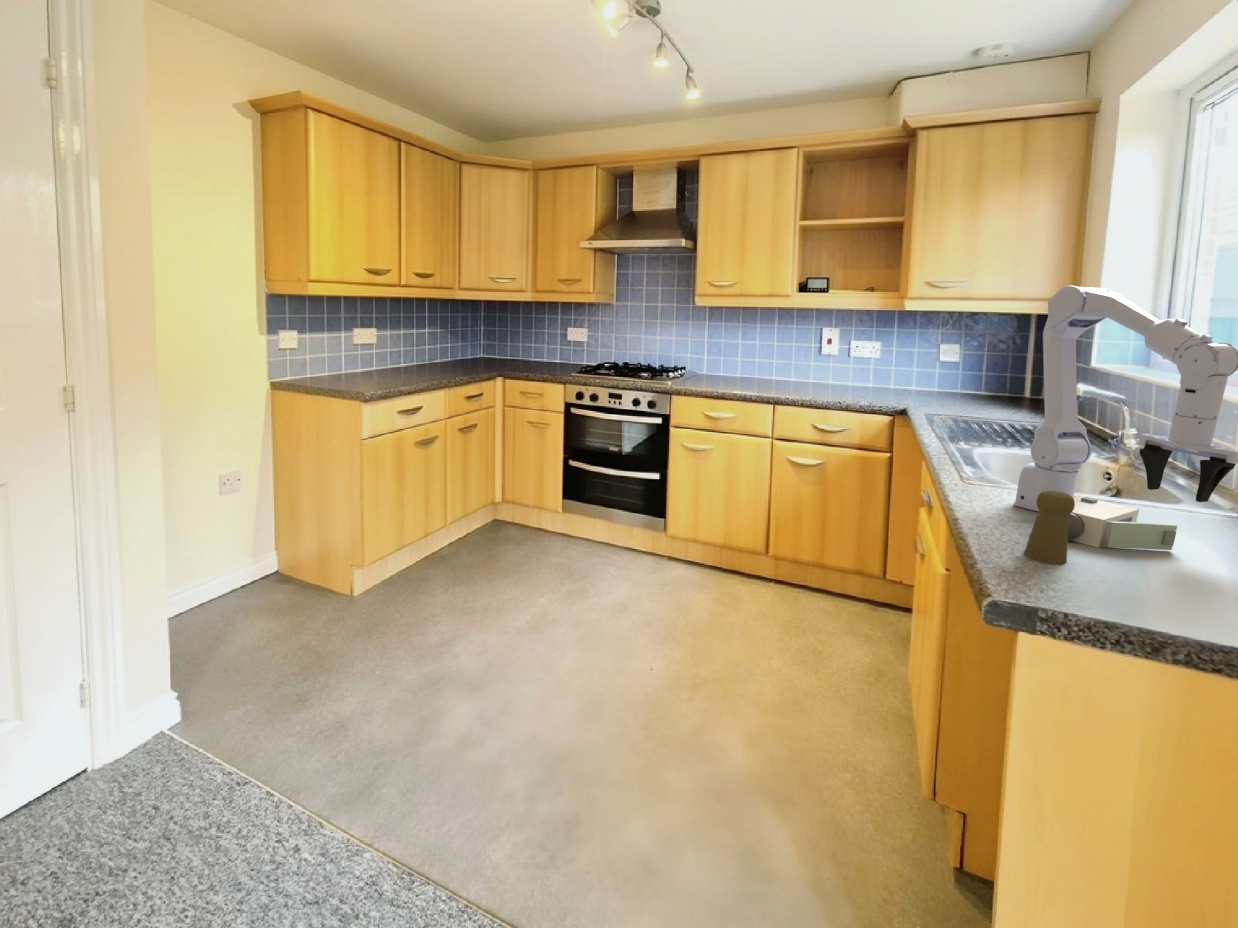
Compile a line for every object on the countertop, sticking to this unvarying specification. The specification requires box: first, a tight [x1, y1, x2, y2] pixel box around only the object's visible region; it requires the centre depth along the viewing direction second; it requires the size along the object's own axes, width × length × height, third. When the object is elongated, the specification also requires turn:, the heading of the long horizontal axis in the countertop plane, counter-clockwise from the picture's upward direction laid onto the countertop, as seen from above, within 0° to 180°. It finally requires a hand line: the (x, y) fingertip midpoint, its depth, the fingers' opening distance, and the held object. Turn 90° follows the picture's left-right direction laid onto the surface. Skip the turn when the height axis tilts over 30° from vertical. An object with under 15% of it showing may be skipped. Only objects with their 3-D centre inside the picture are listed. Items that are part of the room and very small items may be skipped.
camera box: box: [1067, 495, 1140, 548], centre depth 126 cm, size 10×16×6 cm, turn 124°
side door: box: [1102, 521, 1178, 551], centre depth 118 cm, size 2×11×4 cm, turn 89°
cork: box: [1023, 491, 1075, 565], centre depth 112 cm, size 6×6×11 cm
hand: (1176, 495), depth 119 cm, fingers open, 7 cm apart
